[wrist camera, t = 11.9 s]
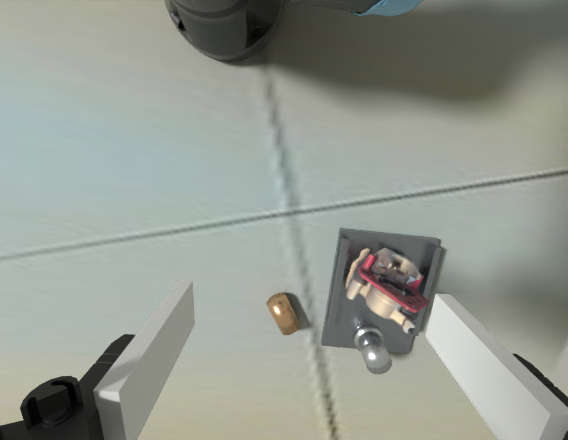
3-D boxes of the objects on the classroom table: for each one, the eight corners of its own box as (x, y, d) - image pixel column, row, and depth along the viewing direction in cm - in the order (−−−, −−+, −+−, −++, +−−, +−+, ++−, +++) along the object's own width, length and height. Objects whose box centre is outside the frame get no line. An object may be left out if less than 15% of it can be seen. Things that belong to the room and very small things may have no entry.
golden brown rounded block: (265, 299, 47) (268, 309, 44) (283, 290, 48) (288, 298, 44) (279, 327, 49) (283, 338, 45) (296, 317, 49) (302, 327, 46)
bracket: (339, 228, 44) (349, 242, 37) (436, 237, 44) (463, 254, 38) (321, 342, 50) (326, 372, 43) (406, 350, 50) (425, 381, 43)
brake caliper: (441, 255, 41) (453, 334, 34) (396, 281, 50) (398, 349, 43) (375, 227, 40) (372, 302, 33) (341, 259, 49) (332, 324, 42)
